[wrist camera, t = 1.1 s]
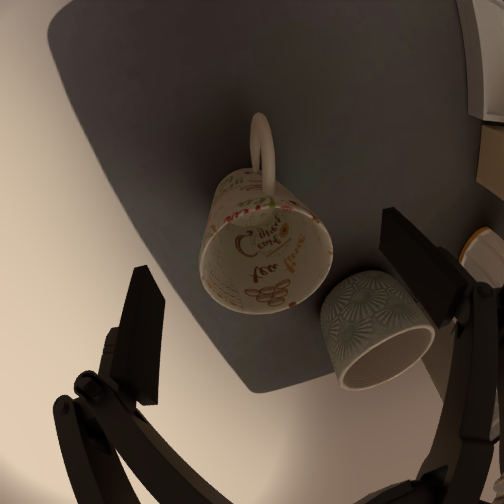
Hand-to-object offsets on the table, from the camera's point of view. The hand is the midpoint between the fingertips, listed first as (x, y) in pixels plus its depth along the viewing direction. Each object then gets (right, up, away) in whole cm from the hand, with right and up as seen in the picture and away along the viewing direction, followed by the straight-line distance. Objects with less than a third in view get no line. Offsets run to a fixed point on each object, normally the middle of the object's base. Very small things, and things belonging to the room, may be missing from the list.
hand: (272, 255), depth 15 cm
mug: (-2, +7, +9) cm, 12 cm away
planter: (+13, -6, +21) cm, 25 cm away
